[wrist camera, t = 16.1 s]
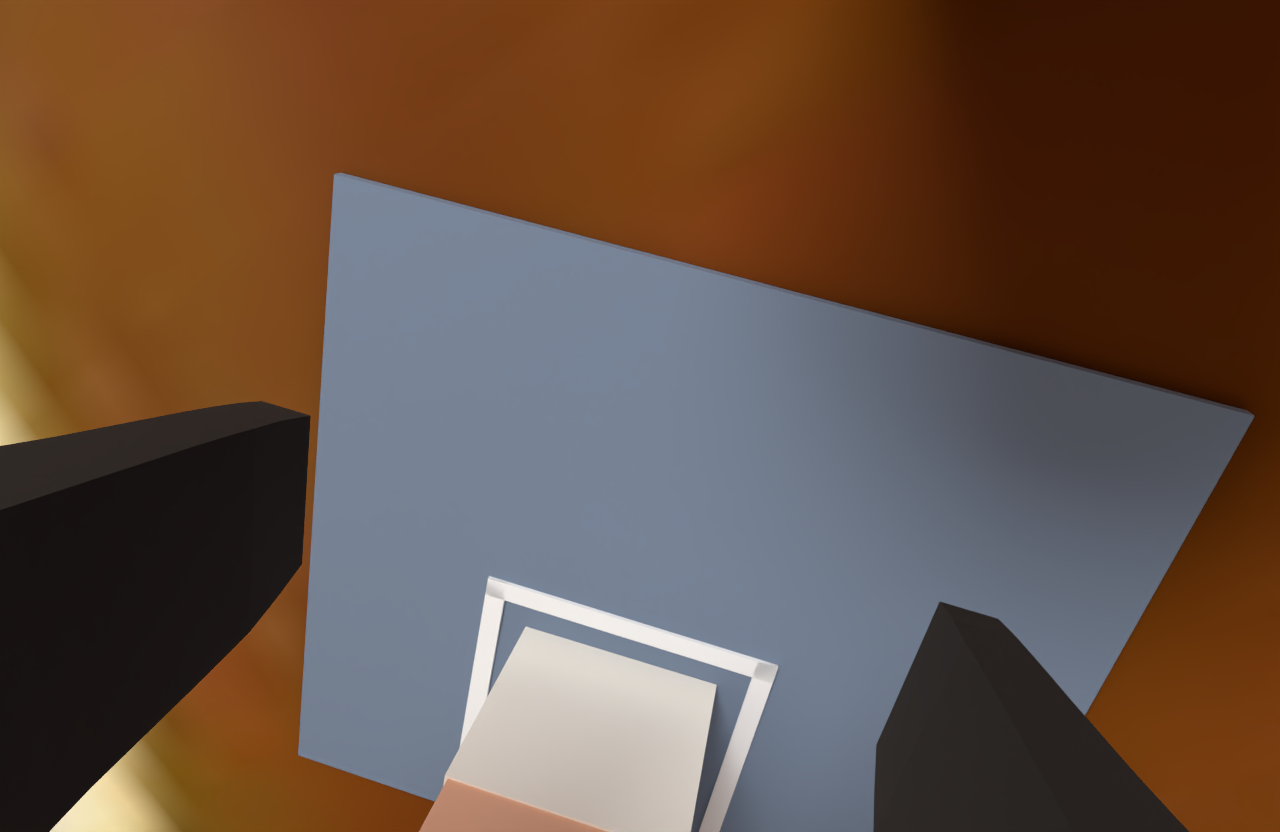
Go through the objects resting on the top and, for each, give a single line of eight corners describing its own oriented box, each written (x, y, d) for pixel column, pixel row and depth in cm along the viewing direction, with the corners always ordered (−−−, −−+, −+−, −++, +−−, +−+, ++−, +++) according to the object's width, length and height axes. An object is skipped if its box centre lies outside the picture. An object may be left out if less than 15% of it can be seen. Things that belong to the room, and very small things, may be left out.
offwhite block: (672, 825, 23) (635, 1011, 18) (499, 769, 23) (421, 936, 19) (716, 684, 21) (687, 854, 16) (526, 626, 21) (444, 775, 17)
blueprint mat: (937, 962, 23) (939, 976, 23) (303, 748, 25) (296, 757, 25) (1247, 410, 16) (1257, 418, 16) (341, 172, 18) (331, 174, 18)
